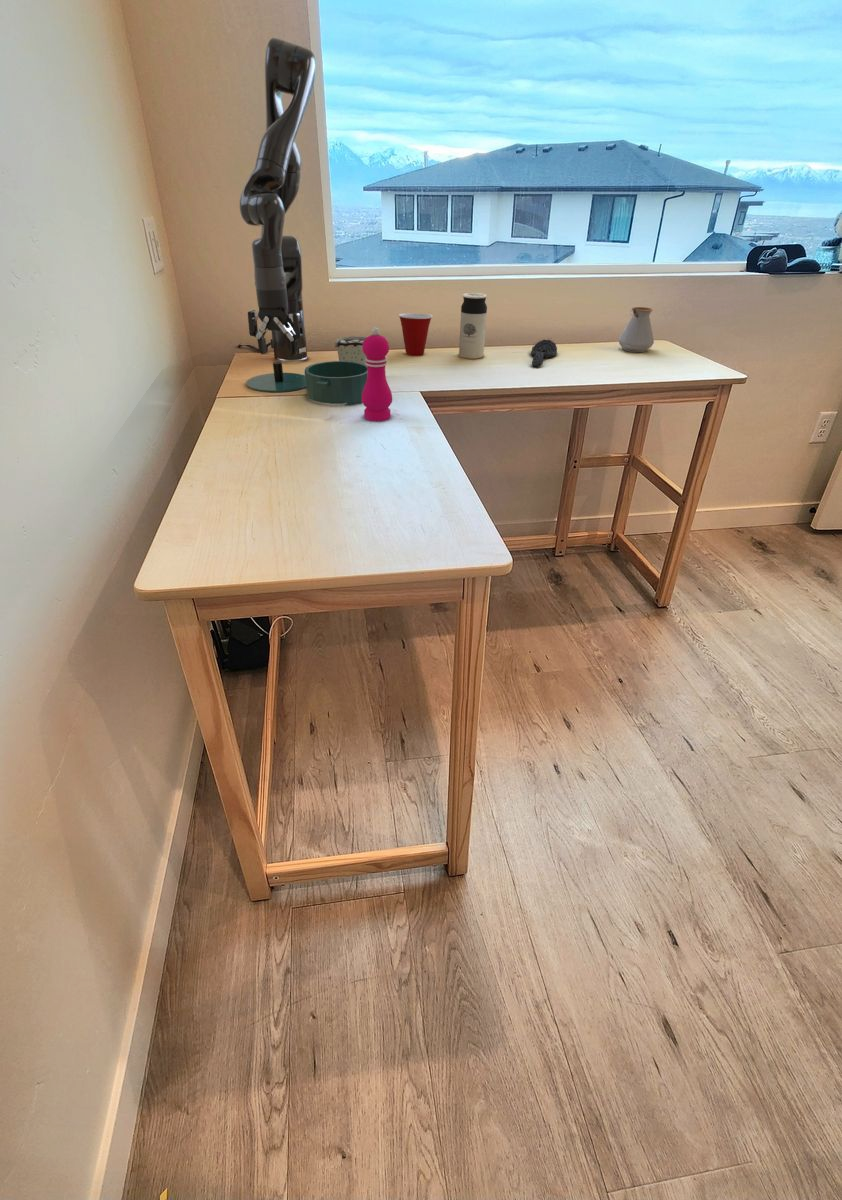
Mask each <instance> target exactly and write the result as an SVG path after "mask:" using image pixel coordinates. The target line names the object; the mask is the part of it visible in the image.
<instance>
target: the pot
mask: <svg viewBox="0 0 842 1200" xmlns="http://www.w3.org/2000/svg"><path fill="white" fill-rule="evenodd" d="M367 374H368V370H367V365H364V364H362V363H357V362H349V361H339V360H331V361H330V360H329V361H321V362H316V363H313V364H310V365H308V366H306V367H305V368H304V375H305V382H306V388H305V392H306V393H305V394H306V397H307V398H308V399H309V400H311V401H314V402H317V403H322V404H331V405H332V404H333V405H337V404H339V405H342V404H343V405H344V407H345V406H353V405H358V404H363V403H362V392H363V389H364V387H365V384H366V381H367Z"/></svg>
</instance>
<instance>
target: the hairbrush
mask: <svg viewBox="0 0 842 1200" xmlns="http://www.w3.org/2000/svg"><path fill="white" fill-rule="evenodd" d="M557 353H558V346H557V344H556V343H555V342H554V341H553V339H552V338H548V339H545V337H543V339H541V338H540V339H538V341H536V342H534V344H533V345H532V347H531V351H530V356H532V361H531V366H532V367H533V368H540V367H542V364H543V363H544V358H554V357H556V356H557Z"/></svg>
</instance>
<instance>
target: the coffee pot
mask: <svg viewBox="0 0 842 1200" xmlns="http://www.w3.org/2000/svg"><path fill="white" fill-rule="evenodd" d="M653 311H654V310H653V308H650V307H644V306H643V307H642V306H636V307H631V312H632V314H631V318H630V320H629V321H628V323H627V325H626V326H625V328H624V330H623V331H622V333H621V334H620V336H619V338H618V343H619V346H620V347H621V348H622V350H623V351H625V352H629V353H645V352H647V350H649V349H651V348H652V346H653V345H654V343H655V341H654V335H653V330H652V324H651V319H650V316H651V313H652V312H653Z"/></svg>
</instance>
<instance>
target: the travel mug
mask: <svg viewBox="0 0 842 1200" xmlns="http://www.w3.org/2000/svg"><path fill="white" fill-rule="evenodd" d="M462 298H463V302H462V303H461V306H460V322H459V323H460V325H459V326H460V327H459V344H458V356H459V357H461V358H463V359H467V360H477V359H482V358H483V357H484V355H485V342H486V328H487V313H488V305H487V303H486V299H487V298H488V295H487V294H485V293H480V292H467V293H463V294H462Z"/></svg>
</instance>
